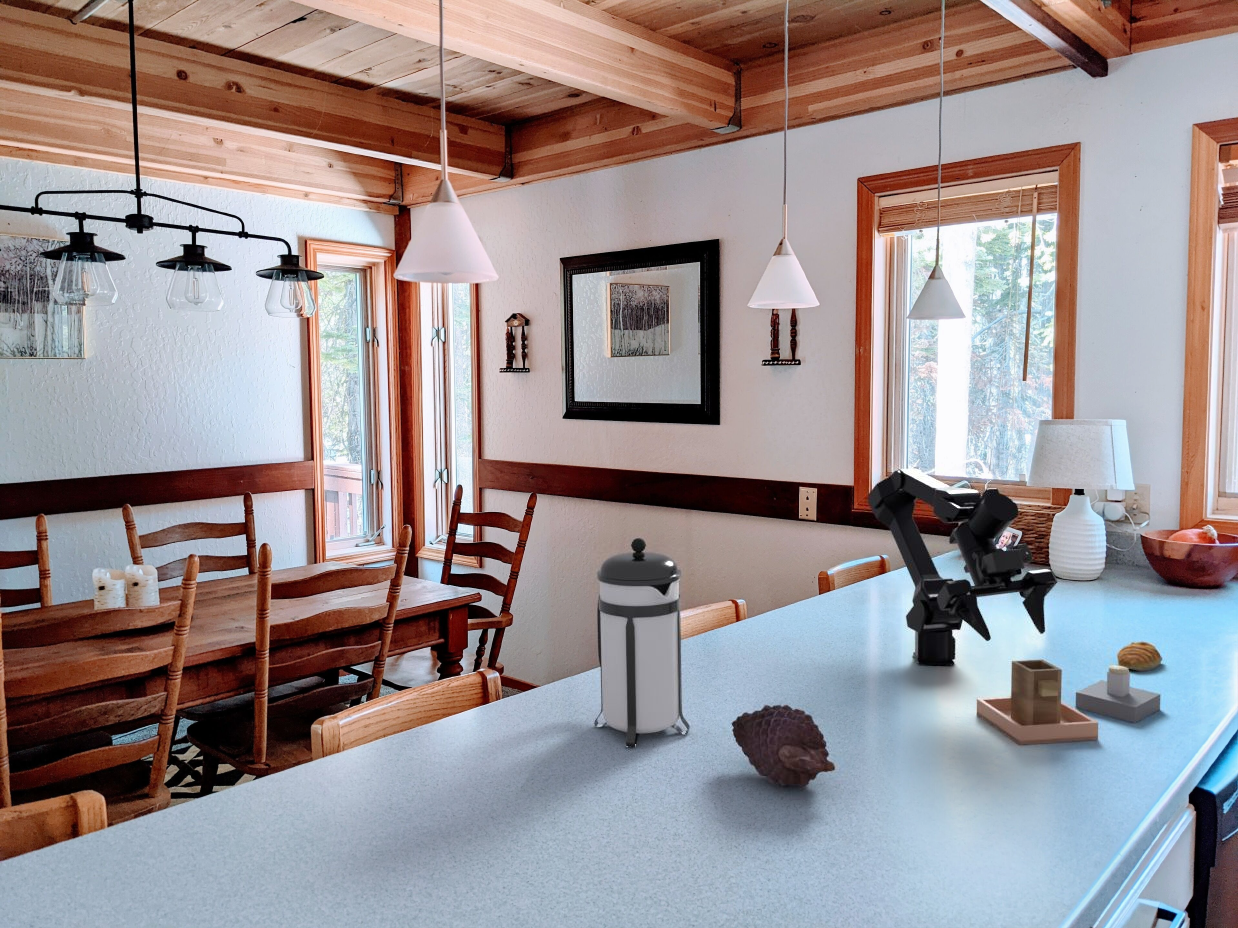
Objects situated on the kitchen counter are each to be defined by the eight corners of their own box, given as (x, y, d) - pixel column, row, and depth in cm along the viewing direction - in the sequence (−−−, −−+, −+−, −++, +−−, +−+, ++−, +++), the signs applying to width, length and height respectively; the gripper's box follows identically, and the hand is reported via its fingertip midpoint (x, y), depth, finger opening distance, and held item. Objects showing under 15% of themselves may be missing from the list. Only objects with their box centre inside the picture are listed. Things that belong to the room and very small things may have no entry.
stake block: (1075, 706, 143) (1076, 667, 143) (1101, 694, 149) (1102, 656, 148) (1135, 722, 136) (1136, 681, 136) (1160, 709, 142) (1161, 668, 141)
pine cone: (710, 766, 124) (710, 696, 123) (763, 749, 129) (762, 682, 128) (804, 815, 109) (804, 736, 108) (858, 793, 115) (859, 718, 114)
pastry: (1151, 676, 158) (1151, 655, 158) (1109, 669, 163) (1109, 648, 163) (1163, 663, 165) (1163, 643, 165) (1122, 657, 170) (1123, 637, 169)
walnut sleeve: (1010, 717, 138) (1011, 661, 137) (1041, 715, 138) (1042, 659, 138) (1033, 732, 132) (1034, 673, 131) (1065, 730, 132) (1066, 671, 131)
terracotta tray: (976, 714, 141) (976, 698, 141) (1048, 709, 142) (1049, 694, 142) (1019, 744, 129) (1019, 727, 129) (1097, 739, 130) (1098, 722, 130)
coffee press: (701, 715, 143) (699, 531, 140) (675, 754, 128) (672, 548, 125) (600, 704, 149) (597, 527, 146) (564, 741, 134) (559, 544, 131)
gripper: (942, 535, 145) (977, 621, 136) (1050, 522, 147) (1092, 606, 138) (922, 568, 154) (954, 651, 145) (1024, 555, 156) (1062, 637, 147)
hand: (1016, 636), depth 144 cm, fingers open, 9 cm apart
